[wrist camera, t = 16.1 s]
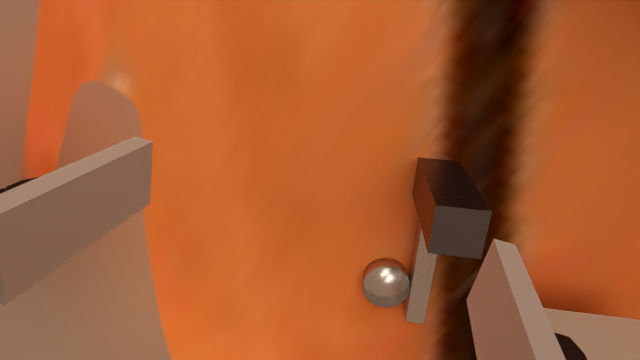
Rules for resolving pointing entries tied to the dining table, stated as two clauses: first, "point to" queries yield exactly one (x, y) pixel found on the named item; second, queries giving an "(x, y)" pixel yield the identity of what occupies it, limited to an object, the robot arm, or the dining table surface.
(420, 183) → the tool
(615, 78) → the dining table surface
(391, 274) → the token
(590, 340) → the cabinet
